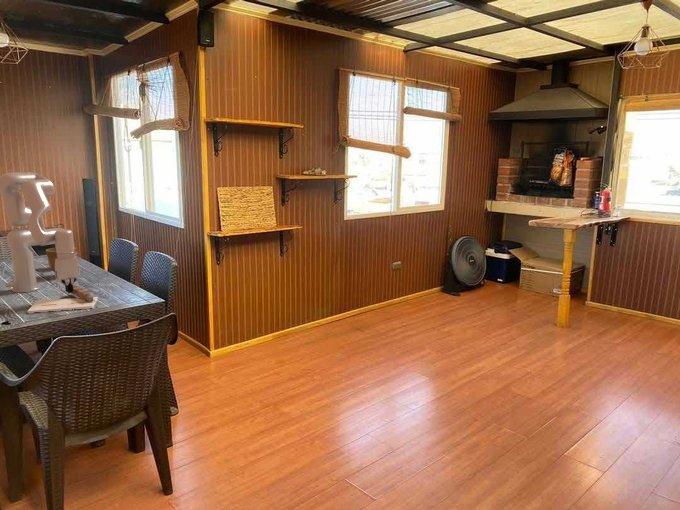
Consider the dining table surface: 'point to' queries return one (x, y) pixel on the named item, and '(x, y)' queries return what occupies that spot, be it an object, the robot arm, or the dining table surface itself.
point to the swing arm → (82, 293)
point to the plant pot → (53, 256)
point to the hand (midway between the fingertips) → (69, 292)
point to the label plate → (62, 305)
